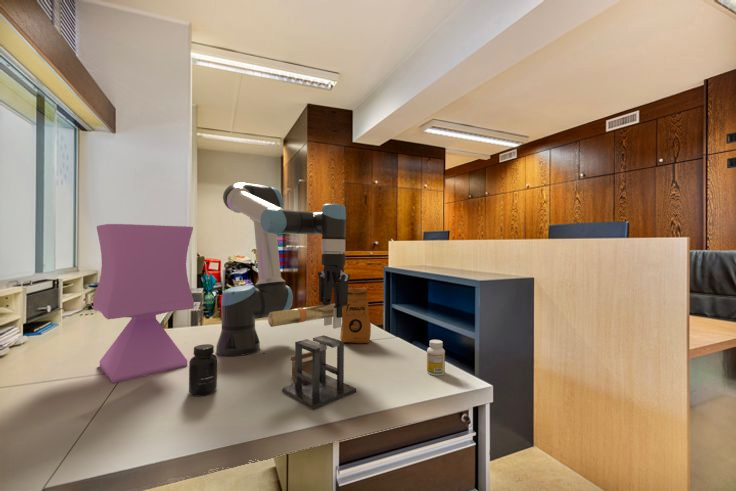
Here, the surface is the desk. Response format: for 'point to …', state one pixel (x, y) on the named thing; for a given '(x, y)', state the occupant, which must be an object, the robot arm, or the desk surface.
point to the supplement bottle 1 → (203, 371)
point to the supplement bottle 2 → (436, 358)
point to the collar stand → (319, 374)
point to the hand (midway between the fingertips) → (332, 326)
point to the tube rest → (303, 364)
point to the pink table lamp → (142, 295)
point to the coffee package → (356, 317)
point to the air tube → (300, 315)
